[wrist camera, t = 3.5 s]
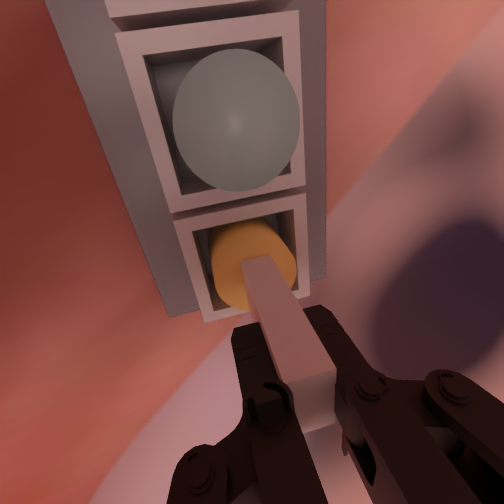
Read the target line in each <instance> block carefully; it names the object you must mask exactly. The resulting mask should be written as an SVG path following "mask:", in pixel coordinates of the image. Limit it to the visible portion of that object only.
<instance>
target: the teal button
mask: <svg viewBox="0 0 504 504" xmlns="http://www.w3.org/2000/svg"><path fill="white" fill-rule="evenodd" d="M172 121H173V132H174V137H175V141H176V144H177V147H178V150H179V152H180V154H181V156H182V158H183V159H184V161H185V163H186V164H187V166H188V167H189V168H190V169H191V170H192V172H193V173H195V174H196V175H197V176H198V177H199V178H200V179H202V180H203V181H204V182H206V183H208V184H209V185H211V186H213V187H216V188H218V189H222V190H226V191H233V192H242V191H249V190H252V189H256V188H258V187H261V186H263V185H265V184H267V183H268V182H270V181H271V180H273V179H274V178H275V177H276V176H277V175H278V174H279V173H281V171H282V170H283V169H284V168H285V167H286V165H287V164H288V162H289V161H290V159H291V157H292V155H293V153H294V151H295V148H296V145H297V142H298V138H299V132H300V109H299V104H298V100H297V97H296V94H295V91H294V89H293V87H292V85H291V83H290V81H289V80H288V78H287V76H286V75H285V74H284V72H283V71H282V70H281V69H280V68H279V67H278V66H277V65H276V64H275V63H274V62H272V61H271V60H269V59H268V58H266V57H265V56H263V55H261V54H259V53H256V52H253V51H250V50H245V49H226V50H222V51H218V52H215V53H213V54H210V55H209V56H207V57H205V58H204V59H202V60H201V61H199V62H198V63H197V64H196V65H195V66H194V67H193V68H192V69H191V70H190V71H189V72H188V73H187V75H186V76H185V78H184V80H183V81H182V83H181V85H180V87H179V89H178V92H177V95H176V98H175V102H174V107H173V119H172Z"/></svg>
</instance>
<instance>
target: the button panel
mask: <svg viewBox="0 0 504 504" xmlns="http://www.w3.org/2000/svg"><path fill="white" fill-rule="evenodd" d="M44 1H45V3H46V6H47V8H48V11H49V13H50V16H51V18H52V21H53V24H54V26H55V29H56V31H57V34H58V36H59V39H60V41H61V44H62V46H63V49H64V51H65V54H66V57H67V59H68V62H69V64H70V67H71V69H72V72H73V74H74V77H75V79H76V82H77V84H78V87H79V90H80V92H81V95H82V97H83V100H84V102H85V105H86V107H87V110H88V112H89V115H90V117H91V120H92V122H93V125H94V128H95V130H96V133H97V135H98V138H99V140H100V143H101V145H102V148H103V150H104V153H105V155H106V158H107V161H108V163H109V166H110V168H111V171H112V173H113V176H114V178H115V181H116V183H117V186H118V188H119V191H120V194H121V196H122V199H123V201H124V204H125V206H126V209H127V211H128V214H129V216H130V219H131V221H132V224H133V226H134V229H135V232H136V234H137V237H138V239H139V242H140V244H141V247H142V249H143V252H144V254H145V257H146V259H147V262H148V265H149V267H150V270H151V272H152V275H153V277H154V280H155V282H156V285H157V287H158V290H159V292H160V295H161V298H162V300H163V303H164V305H165V308H166V310H167V313H168V315H169V317H173V316H177V315H181V314H185V313H189V312H193V311H197V310H201V313H202V317H203V320H204V323H208V322H212V321H216V320H220V319H223V318H227V317H231V316H235V315H239V314H243V313H246V312H250V311H247V310H240V309H236V308H233V307H231V306H229V305H228V304H227V303H225V302H224V301H223V300H222V299H221V298H220V296H219V295H218V293H217V290H216V287H215V282H214V276H213V270H212V265H211V259H210V254H209V248H208V239H209V235H210V232H211V230H212V228H213V227H214V226H218V225H223V224H227V223H232V222H237V221H241V220H246V219H250V218H255V217H259V216H263V217H265V218H266V219H267V220H268V222H269V223H270V224H271V226H272V227H273V228H274V230H275V231H276V233H277V234H278V235H279V237H280V238H281V239H282V241H283V242H284V244H285V245H286V246H287V248H288V249H289V251H290V252H291V253H292V255H293V257H294V259H295V262H296V267H297V273H296V278H295V281H294V284H293V286H292V287H291V291H292V293H293V294H294V296H295V298H296V299H299V298H303V297H307V296H310V281H314V280H318V279H322V278H326V0H44ZM226 49H245V50H250V51H253V52H256V53H259V54H261V55H263V56H265V57H266V58H268V59H269V60H271V61H272V62H274V63H275V64H276V65H277V66H278V67H279V68H280V69H281V70H282V71H283V72H284V74H285V75H286V76H287V78H288V80H289V81H290V83H291V85H292V87H293V89H294V91H295V94H296V97H297V100H298V104H299V109H300V132H299V138H298V142H297V145H296V148H295V151H294V153H293V155H292V157H291V159H290V161H289V162H288V164H287V165H286V167H285V168H284V169H283V170H282V171H281V173H279V174H278V175H277V176H276V177H275V178H274V179H273V180H271V181H270V182H268V183H267V184H265V185H263V186H261V187H258V188H256V189H252V190H249V191H242V192H233V191H226V190H222V189H218V188H216V187H213V186H211V185H209V184H208V183H206V182H204V181H203V180H202V179H200V178H199V177H198V176H197V175H196V174H195V173H193V172H192V170H191V169H190V168H189V167H188V166H187V164H186V163H185V161H184V159H183V158H182V156H181V154H180V152H179V150H178V147H177V144H176V141H175V137H174V132H173V121H172V119H173V107H174V102H175V98H176V95H177V92H178V89H179V87H180V85H181V83H182V81H183V80H184V78H185V76H186V75H187V73H188V72H189V71H190V70H191V69H192V68H193V67H194V66H195V65H196V64H197V63H198V62H199V61H201V60H202V59H204V58H205V57H207V56H209V55H210V54H213V53H215V52H218V51H222V50H226Z"/></svg>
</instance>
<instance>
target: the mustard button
mask: <svg viewBox="0 0 504 504" xmlns="http://www.w3.org/2000/svg"><path fill="white" fill-rule="evenodd" d="M208 248H209V254H210V259H211V265H212V270H213V276H214V282H215V287H216V290H217V293H218V295H219V296H220V298H221V299H222V300H223V301H224V302H225V303H227V304H228V305H229V306H231V307H233V308H236V309H240V310H247V311H250V309H249V306H248V301H247V295H246V290H245V285H244V280H243V275H242V269H241V264H240V261H245V260H249V259H253V258H257V257H261V256H266V255H270V254H271V256H272V258H273V260H274V261H275V263H276V265H277V267H278V268H279V270H280V272H281V273H282V275H283V277H284V279H285V280H286V282H287V284H288V286H289V287H290V289H291V287H292V286H293V284H294V281H295V278H296V273H297V267H296V262H295V259H294V257H293V255H292V253H291V252H290V251H289V249H288V248H287V246H286V245H285V244H284V242H283V241H282V239H281V238H280V237H279V235H278V234H277V233H276V231H275V230H274V228H273V227H272V226H271V224H270V223H269V222H268V220H267V219H266V218H265V217H263V216H259V217H255V218H250V219H246V220H241V221H237V222H232V223H227V224H223V225H218V226H214V227H213V228H212V230H211V232H210V235H209V239H208Z"/></svg>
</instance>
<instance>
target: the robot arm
mask: <svg viewBox="0 0 504 504" xmlns="http://www.w3.org/2000/svg"><path fill="white" fill-rule="evenodd" d="M240 264H241V269H242V275H243V280H244V285H245V290H246V295H247V301H248V306H249V309H250V312H251V315H252V318H253V321H254V323H252V324H248V325H244V326H240V327H236V328H234V330H233V333H232V337H231V343H232V349H233V353H234V358H235V363H236V368H237V373H238V378H239V383H240V388H241V393H242V398H243V414H242V417H241V420H240V422H239V424H238V425H237V427H236V428H235V430H234V431H232V432H231V433H230V434H229V435H228V436H227V437H225V438H224V439H222V440H221V441H220V442H218V443H217V444H216V445H214V446H212V445H207V444H203V445H199V446H195V447H193V448H192V449H191V450H189V451H188V452H187V453H185V454H184V456H183V457H182V458H181V460H180V461H179V462H178V464H177V466H176V469H175V471H174V474H173V477H172V482H171V486H170V490H169V495H168V499H167V504H328V501H327V498H326V496H325V493H324V490H323V488H322V485H321V482H320V479H319V476H318V474H317V471H316V468H315V465H314V463H313V460H312V457H311V454H310V452H309V449H308V446H307V444H306V441H305V438H304V435H303V433H307V432H310V431H313V430H316V429H319V428H322V427H325V426H328V425H331V424H334V423H335V414H336V416H337V418H338V421H339V423H340V425H341V426H342V429H343V432H342V450H343V454H344V456H346V455H347V453H348V452H349V454H350V456H351V458H352V460H353V462H354V464H355V466H356V468H357V471H358V473H359V475H360V477H361V479H362V481H363V483H364V485H365V487H366V490H367V492H368V494H369V496H370V498H371V500H372V502H373V504H504V403H502V402H501V401H500V400H498V399H497V398H495V397H494V396H492V395H491V394H490V393H489V392H487V391H486V390H484V389H483V388H482V387H480V386H479V385H477V384H476V383H475V382H473V381H472V380H470V379H469V378H467V377H465V376H463V375H462V374H460V373H457V372H454V371H451V370H444V369H438V370H435V371H432V372H430V373H429V374H428V375H427V377H426V378H425V381H419V380H418V381H417V380H397V379H392V378H388V377H386V376H385V375H384V374H382V373H380V372H378V371H376V370H374V369H373V368H372V367H371V366H370V365H369V364H368V363H367V361H366V360H365V359H364V357H363V356H362V354H361V353H360V351H359V350H358V349H357V347H356V346H355V344H354V343H353V342H352V340H351V339H350V337H349V336H348V335H347V334H346V332H344V329H343V328H342V326H341V325H340V324H339V323H338V321H337V319H336V318H335V316H334V315H333V313H332V312H331V311H329V310H328V309H326V308H325V307H323V306H322V305H316V306H312V307H309V308H305V309H302V308H301V306H300V305H299V303H298V301H297V299H296V298H295V296H294V294H293V293H292V291H291V289H290V287H289V286H288V284H287V282H286V280H285V279H284V277H283V275H282V273H281V272H280V270H279V268H278V267H277V265H276V263H275V261H274V260H273V258H272V256H271V254H270V255H266V256H261V257H257V258H253V259H249V260H245V261H240Z"/></svg>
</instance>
